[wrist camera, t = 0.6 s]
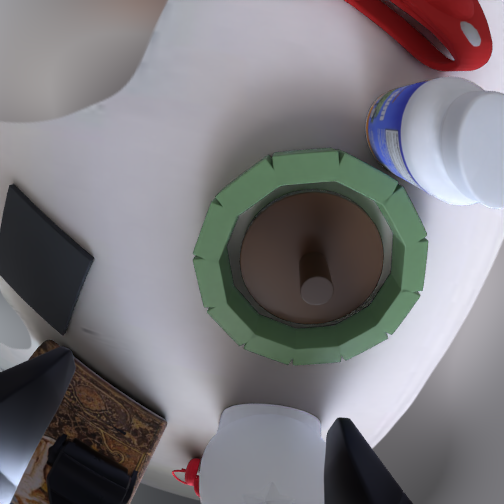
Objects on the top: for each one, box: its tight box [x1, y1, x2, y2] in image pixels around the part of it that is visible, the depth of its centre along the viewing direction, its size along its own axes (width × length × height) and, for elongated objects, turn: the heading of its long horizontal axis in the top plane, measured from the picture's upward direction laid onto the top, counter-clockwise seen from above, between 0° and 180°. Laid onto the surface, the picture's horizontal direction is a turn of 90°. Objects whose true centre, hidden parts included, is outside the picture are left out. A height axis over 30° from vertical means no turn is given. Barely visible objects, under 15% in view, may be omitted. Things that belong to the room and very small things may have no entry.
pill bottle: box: [365, 77, 504, 209], centre depth 11 cm, size 5×5×10 cm
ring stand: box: [240, 189, 384, 324], centre depth 17 cm, size 9×9×4 cm
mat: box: [0, 184, 94, 335], centre depth 22 cm, size 11×11×1 cm
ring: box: [193, 148, 428, 365], centre depth 18 cm, size 14×14×2 cm
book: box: [10, 340, 167, 504], centre depth 18 cm, size 16×6×25 cm, turn 51°
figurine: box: [199, 404, 326, 504], centre depth 20 cm, size 11×11×15 cm
